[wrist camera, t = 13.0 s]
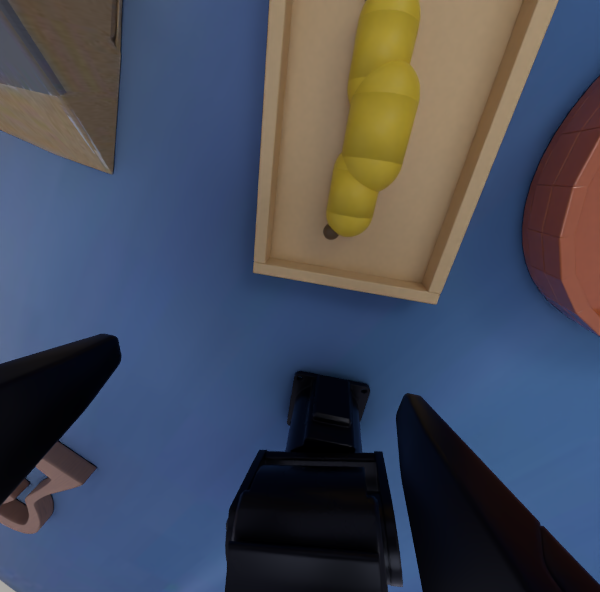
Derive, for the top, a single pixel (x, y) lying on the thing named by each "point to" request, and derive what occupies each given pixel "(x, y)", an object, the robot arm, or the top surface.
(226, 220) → the top surface
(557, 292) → the bowl
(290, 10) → the tray
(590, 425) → the top surface
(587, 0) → the top surface
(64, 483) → the wood carving
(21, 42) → the sandwich container
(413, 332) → the top surface
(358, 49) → the banana
